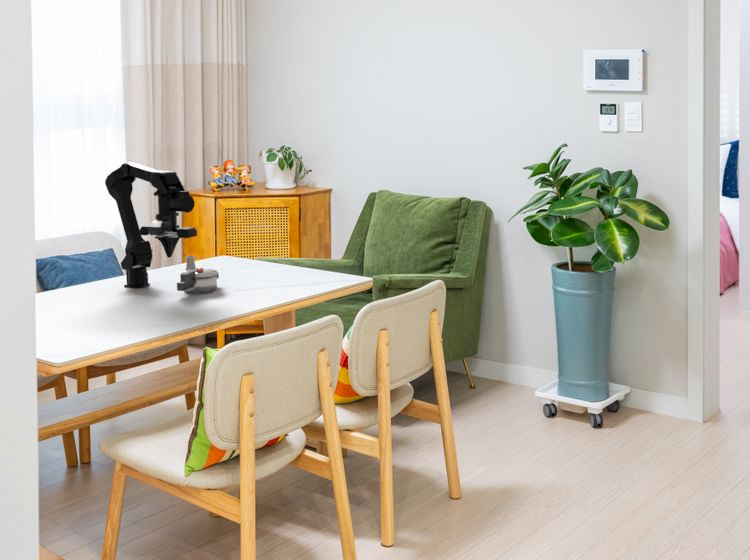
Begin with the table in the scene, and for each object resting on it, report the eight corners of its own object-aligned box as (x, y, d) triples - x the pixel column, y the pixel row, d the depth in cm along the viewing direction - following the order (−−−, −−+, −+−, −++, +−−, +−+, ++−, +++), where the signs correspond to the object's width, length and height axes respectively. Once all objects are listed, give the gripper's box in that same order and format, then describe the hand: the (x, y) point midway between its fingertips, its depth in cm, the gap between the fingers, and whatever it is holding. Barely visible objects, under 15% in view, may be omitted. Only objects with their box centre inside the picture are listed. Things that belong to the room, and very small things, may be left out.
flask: (197, 287, 325) (196, 258, 323) (177, 286, 326) (176, 257, 324) (205, 283, 331) (204, 255, 330) (185, 282, 333) (184, 254, 331)
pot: (200, 284, 329) (199, 270, 328) (227, 287, 325) (227, 272, 324) (165, 296, 311) (165, 281, 310) (194, 299, 306) (194, 283, 305)
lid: (191, 270, 325) (191, 263, 325) (223, 272, 322) (222, 265, 322) (167, 280, 309) (166, 273, 308) (199, 282, 306) (199, 275, 305)
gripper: (128, 211, 306) (130, 259, 309) (177, 214, 299) (179, 263, 302) (149, 207, 316) (151, 253, 319) (197, 210, 309) (198, 257, 313)
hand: (169, 257), depth 313 cm, fingers closed
